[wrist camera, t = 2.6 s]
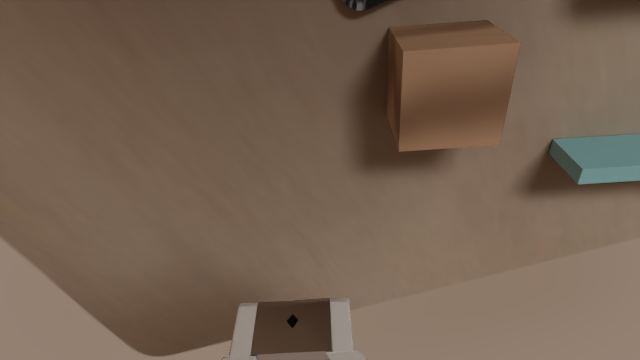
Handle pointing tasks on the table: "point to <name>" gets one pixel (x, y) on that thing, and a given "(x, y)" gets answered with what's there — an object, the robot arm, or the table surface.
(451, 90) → the walnut block
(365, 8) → the phone
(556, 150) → the box
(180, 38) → the table surface
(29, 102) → the table surface
